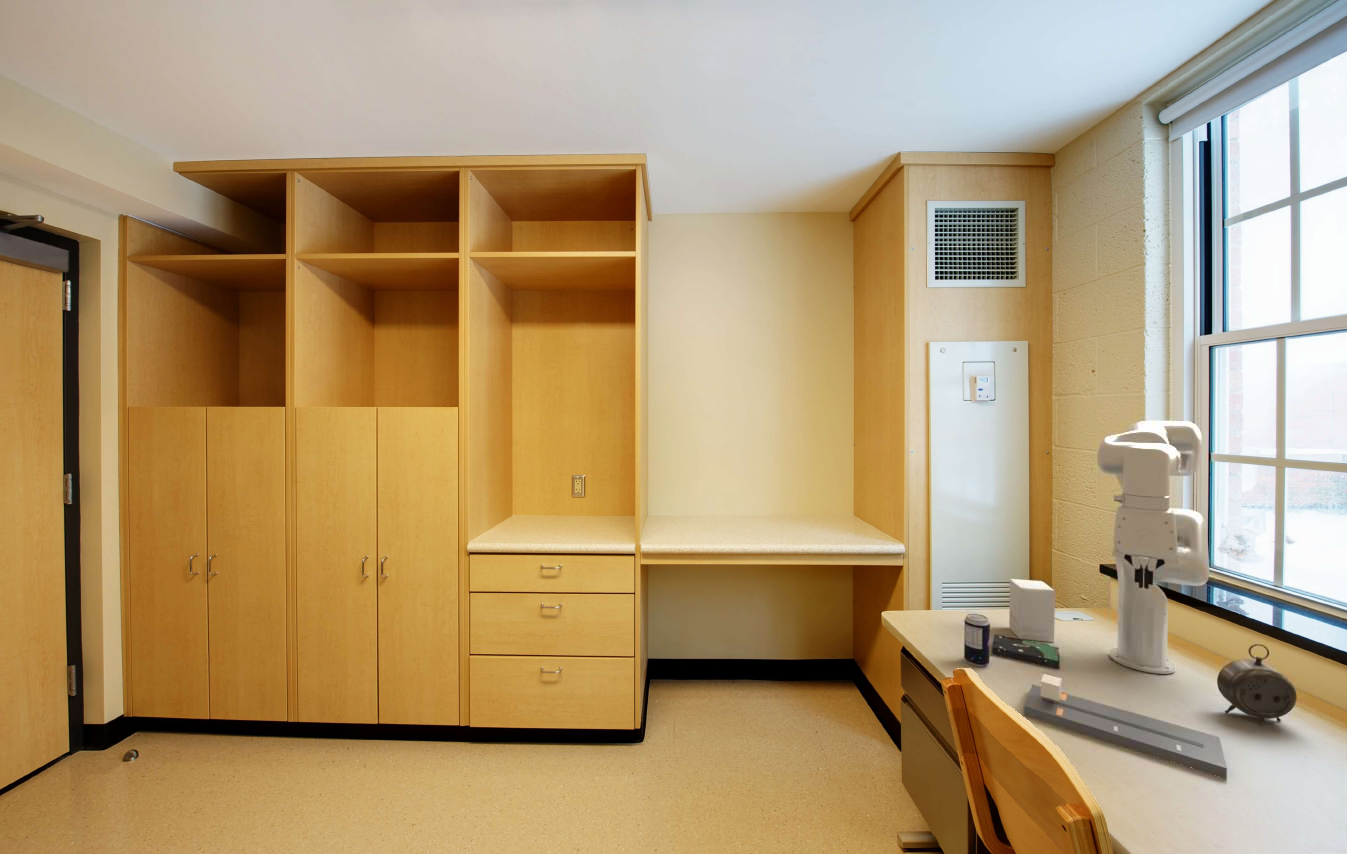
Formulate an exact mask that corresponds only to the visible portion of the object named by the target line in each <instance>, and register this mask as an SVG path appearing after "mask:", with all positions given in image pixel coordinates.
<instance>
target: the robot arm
mask: <svg viewBox="0 0 1347 854" xmlns="http://www.w3.org/2000/svg"><path fill="white" fill-rule="evenodd" d="M1202 438H1203V437H1202V433H1201V430H1200V429H1199V428H1198V426H1197V425H1196V424H1194V423H1192V422H1191V421H1183V420H1182V421H1180V420H1179V421H1176V420H1175V421H1172V420H1145V421H1139V422H1135V423H1132V424H1131V425H1129V427H1128V428H1127V429H1126V430H1125V432H1124V433H1119V434H1114V435H1110V436H1106V437H1104V438H1103V440H1101V441H1100V444H1099V446H1098V450H1097V454H1096V462H1097V466H1098V468H1099V470H1100V471H1101V472H1102V473H1104V474H1107V475H1115V477H1116V480H1117V482H1118V484H1119V486H1120V488H1121V490H1122V493H1121V494H1118V495H1113V501H1114V502H1118V503H1120V504H1121V506H1118V507H1117V509H1116V513H1115V519H1114V526H1113V549H1112V552H1111V555H1112V556H1114V561H1115V566H1116V572H1117V582H1118V583H1117V585H1118V593H1117V594H1118V597H1117V599H1118V601H1117V604H1118V605H1117V647H1114V648H1112V649H1110V650H1109V657H1110V658H1112V660H1113V661H1115V662H1116V663H1118V664H1120V665H1123V666H1124V667H1128V668H1130V669H1133V670H1137V671H1140V672H1143V673H1144V672H1145V673H1150V674H1156V675H1157V674H1158V675H1169V674H1173V673H1174V672H1175V671H1176V665H1175V664H1174V662H1172V661H1171V660H1169V659H1168V619H1169V617H1168V613H1169V612H1168V610H1169V607H1168V606H1169V601H1168V598H1167V596H1166V594H1165V592H1164V591H1163V590H1162V589H1161V588H1160V586H1158V584H1156V582H1162V583H1170V584H1176V585H1177V584H1178V585H1182V586H1183V585H1184V586H1191V587H1201V586H1204V585H1206V583H1207V582H1208V580H1209V577H1210V559H1209V545H1208V544H1209V542H1208V531H1207V530H1208V529H1207V524H1206V521H1205V519H1204V517H1203V515H1202V514H1201V513H1199V512H1197V511H1195V510H1192V509H1187V508H1180V507H1179V508H1177V507H1170V477H1172V476H1173V477H1174V476H1177V477H1187V476H1192V475H1194V474H1195V473H1197V472H1198V470H1199V467H1200V461H1201V453H1202V448H1203V447H1202V445H1203V439H1202Z"/></svg>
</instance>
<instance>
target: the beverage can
mask: <svg viewBox="0 0 1347 854" xmlns="http://www.w3.org/2000/svg"><path fill="white" fill-rule="evenodd" d="M963 621H964V624H963V625H964V627H963V629H964V630H963V632H964V633H963V634H964V636H963V637H964V640H963V641H964V642H963V647H964V648H963V649H964V650H963V652H964V653H963V657H964V659H965V661H967V663H968V664H969V665H972V666H973V667H979V668H983V667H986V666H987V665H989V663H990V654H991V653H990V652H991V651H990V649H991V648H990V641H991V639H990V637H991V635H990V634H991V633H990V630H991V628H990V627H991V624H990V622H989V618H988V617H987V616H985V615H984V614H983V615H982V614H979V613H968V614H966V615H965V618H964V620H963Z"/></svg>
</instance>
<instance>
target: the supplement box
mask: <svg viewBox="0 0 1347 854" xmlns="http://www.w3.org/2000/svg"><path fill="white" fill-rule="evenodd" d="M1055 607H1056V591H1055V590H1054V589H1053V588H1052V587H1051V586H1049V584H1046V583H1045V582H1044V581H1041V580H1029V579H1017V578H1016V579H1015V578H1010V579H1009V619H1008V620H1009V621H1008V622H1009V623H1008V625H1009V629H1010V630H1011V631H1012V632H1013V633H1014V634H1015V635H1016V637H1018V638H1017V639H1022V640H1027V641H1035V642H1036V641H1037V642H1038V641H1039V642H1046V643H1055V613H1056V611H1055V610H1056V609H1055Z"/></svg>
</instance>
